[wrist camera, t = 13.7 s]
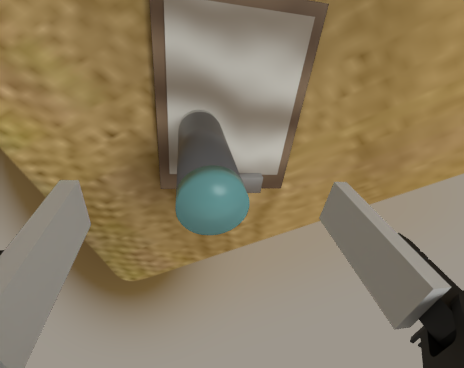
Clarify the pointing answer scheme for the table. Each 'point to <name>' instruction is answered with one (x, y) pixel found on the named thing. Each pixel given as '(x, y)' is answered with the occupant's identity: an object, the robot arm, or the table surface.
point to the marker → (207, 177)
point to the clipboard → (234, 77)
